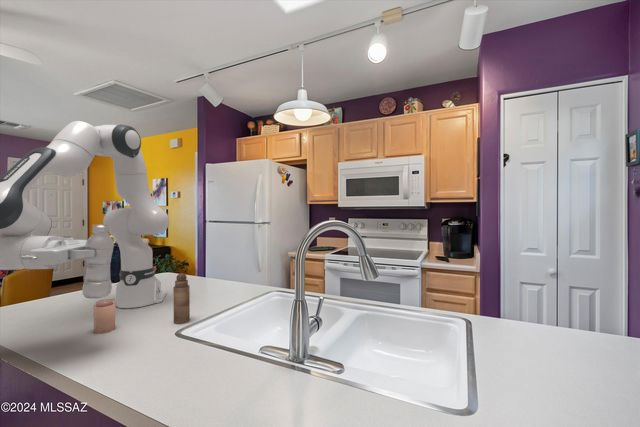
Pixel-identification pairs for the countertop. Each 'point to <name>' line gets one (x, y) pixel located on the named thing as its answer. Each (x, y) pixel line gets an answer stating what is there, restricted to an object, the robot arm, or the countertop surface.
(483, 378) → the countertop surface
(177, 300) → the pepper mill
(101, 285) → the plastic bottle
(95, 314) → the salt jar
